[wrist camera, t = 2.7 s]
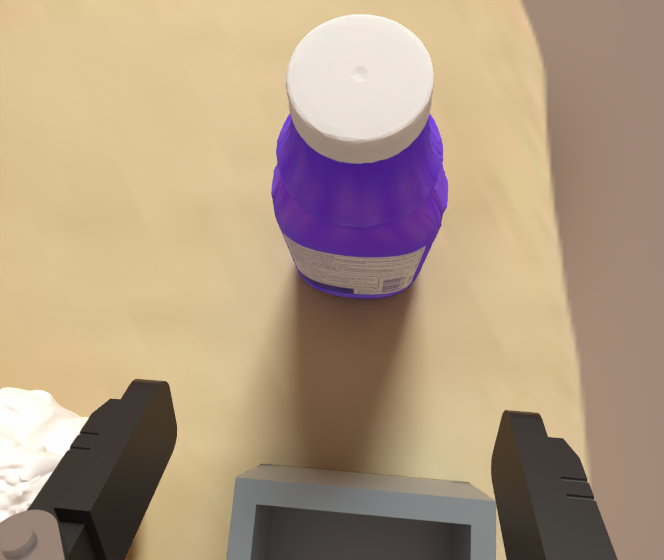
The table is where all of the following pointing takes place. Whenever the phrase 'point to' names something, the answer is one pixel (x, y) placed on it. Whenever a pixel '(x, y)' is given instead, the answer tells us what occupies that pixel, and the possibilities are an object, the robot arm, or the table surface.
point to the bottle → (359, 158)
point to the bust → (31, 444)
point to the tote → (357, 517)
